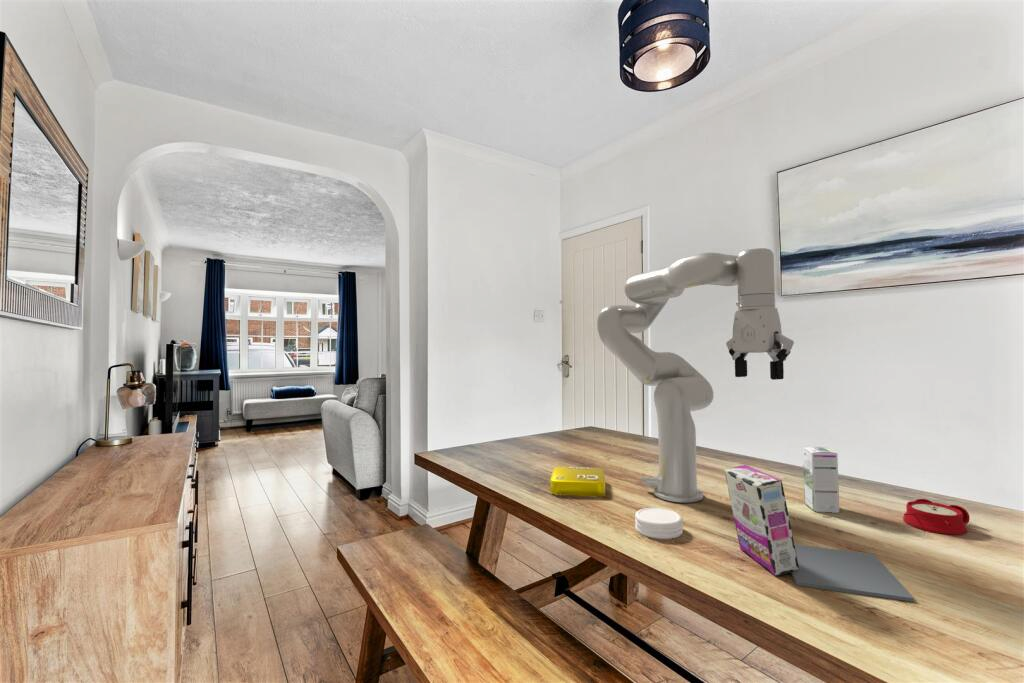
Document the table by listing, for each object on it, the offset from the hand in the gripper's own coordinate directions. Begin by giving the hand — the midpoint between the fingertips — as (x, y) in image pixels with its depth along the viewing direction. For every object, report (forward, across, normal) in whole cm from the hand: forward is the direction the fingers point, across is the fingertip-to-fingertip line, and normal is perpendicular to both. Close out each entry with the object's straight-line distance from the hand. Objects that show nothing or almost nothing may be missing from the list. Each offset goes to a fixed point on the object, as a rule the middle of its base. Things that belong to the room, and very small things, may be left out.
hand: (758, 377), depth 106 cm
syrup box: (+33, -1, +20) cm, 39 cm away
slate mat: (+33, +22, -7) cm, 40 cm away
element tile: (+33, -38, -27) cm, 57 cm away
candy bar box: (+33, +15, -15) cm, 39 cm away
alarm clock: (+34, +15, +34) cm, 50 cm away
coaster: (+33, -5, -25) cm, 42 cm away
